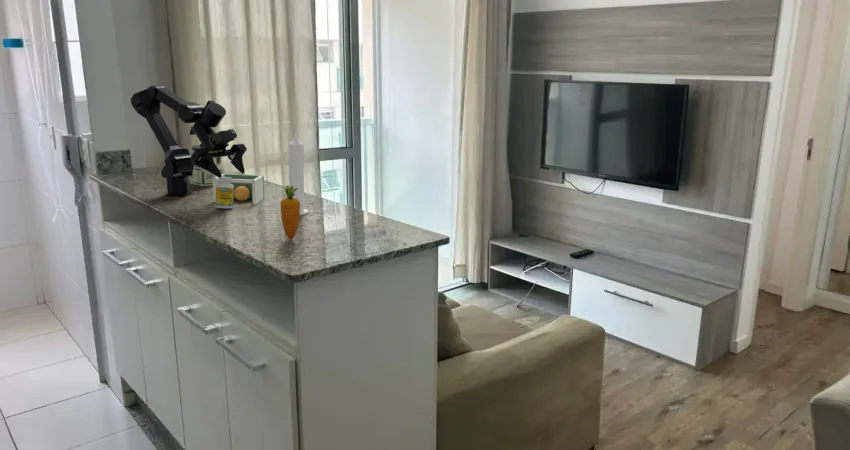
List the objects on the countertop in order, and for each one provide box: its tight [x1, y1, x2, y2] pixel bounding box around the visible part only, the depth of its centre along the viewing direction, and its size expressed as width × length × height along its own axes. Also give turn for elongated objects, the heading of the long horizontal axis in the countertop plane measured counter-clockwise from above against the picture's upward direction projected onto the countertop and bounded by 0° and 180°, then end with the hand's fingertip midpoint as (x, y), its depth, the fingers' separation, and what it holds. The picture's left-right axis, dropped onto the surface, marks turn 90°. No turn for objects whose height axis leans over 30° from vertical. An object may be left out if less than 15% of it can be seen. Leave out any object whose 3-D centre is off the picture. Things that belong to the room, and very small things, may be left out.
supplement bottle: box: [214, 177, 234, 209], centre depth 197 cm, size 5×5×10 cm
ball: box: [234, 186, 250, 202], centre depth 209 cm, size 5×5×5 cm
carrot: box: [280, 184, 301, 241], centre depth 164 cm, size 5×5×15 cm
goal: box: [212, 173, 265, 205], centre depth 209 cm, size 14×9×8 cm, turn 87°
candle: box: [288, 132, 309, 217], centre depth 192 cm, size 7×7×25 cm
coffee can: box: [191, 144, 223, 187], centre depth 234 cm, size 10×10×14 cm
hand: (232, 174), depth 198 cm, fingers open, 9 cm apart
